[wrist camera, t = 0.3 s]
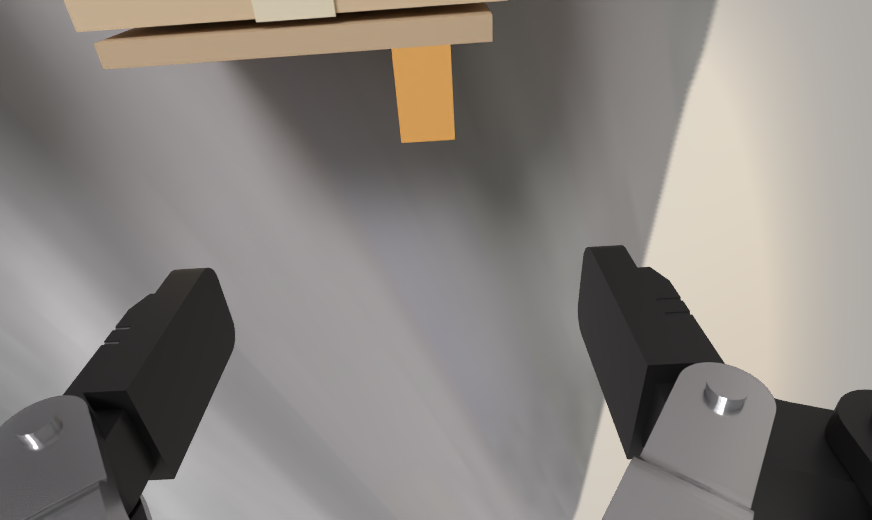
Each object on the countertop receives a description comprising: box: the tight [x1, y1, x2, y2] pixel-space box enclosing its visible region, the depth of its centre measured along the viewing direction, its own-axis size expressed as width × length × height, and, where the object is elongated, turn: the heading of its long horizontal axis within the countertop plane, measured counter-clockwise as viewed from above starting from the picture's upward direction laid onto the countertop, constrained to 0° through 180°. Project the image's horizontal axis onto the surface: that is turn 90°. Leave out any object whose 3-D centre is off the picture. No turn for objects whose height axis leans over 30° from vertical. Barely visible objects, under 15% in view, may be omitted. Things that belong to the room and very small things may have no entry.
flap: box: [94, 2, 493, 143], centre depth 27 cm, size 5×16×11 cm, turn 94°
